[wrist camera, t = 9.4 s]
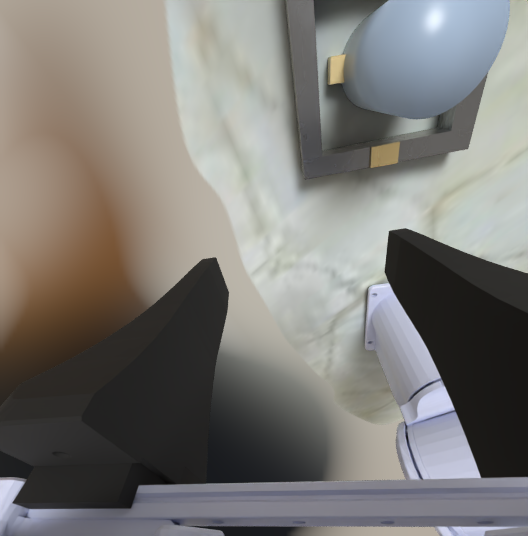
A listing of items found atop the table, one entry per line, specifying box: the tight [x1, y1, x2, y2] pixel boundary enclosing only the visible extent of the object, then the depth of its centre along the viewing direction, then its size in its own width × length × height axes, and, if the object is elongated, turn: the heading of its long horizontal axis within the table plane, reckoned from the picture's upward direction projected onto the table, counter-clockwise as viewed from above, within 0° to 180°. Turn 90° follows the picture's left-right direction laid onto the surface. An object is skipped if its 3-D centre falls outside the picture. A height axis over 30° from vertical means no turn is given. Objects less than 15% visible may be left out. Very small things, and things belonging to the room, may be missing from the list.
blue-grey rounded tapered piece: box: [328, 0, 510, 119], centre depth 11 cm, size 6×4×6 cm
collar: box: [285, 0, 488, 179], centre depth 13 cm, size 10×10×2 cm
